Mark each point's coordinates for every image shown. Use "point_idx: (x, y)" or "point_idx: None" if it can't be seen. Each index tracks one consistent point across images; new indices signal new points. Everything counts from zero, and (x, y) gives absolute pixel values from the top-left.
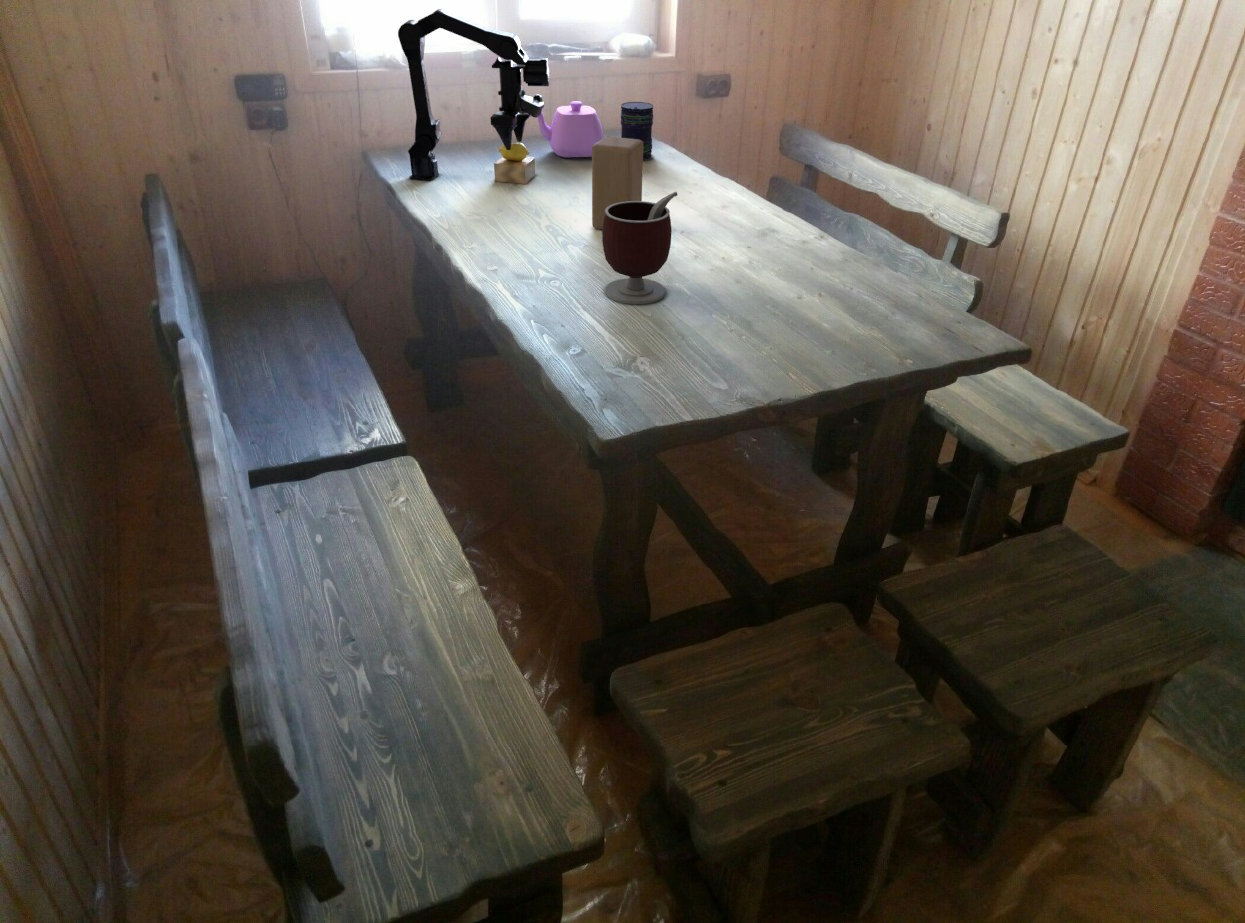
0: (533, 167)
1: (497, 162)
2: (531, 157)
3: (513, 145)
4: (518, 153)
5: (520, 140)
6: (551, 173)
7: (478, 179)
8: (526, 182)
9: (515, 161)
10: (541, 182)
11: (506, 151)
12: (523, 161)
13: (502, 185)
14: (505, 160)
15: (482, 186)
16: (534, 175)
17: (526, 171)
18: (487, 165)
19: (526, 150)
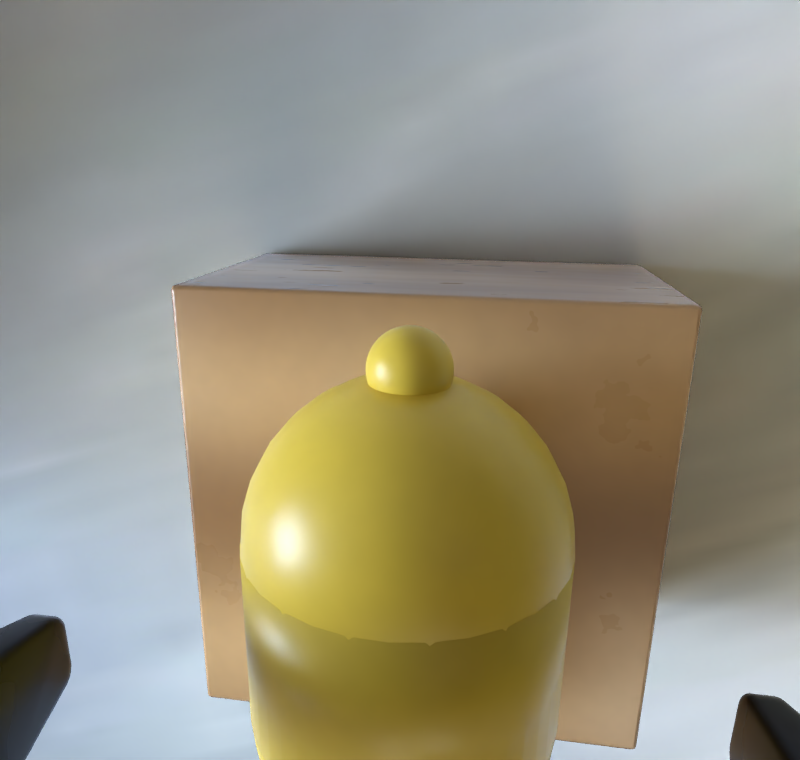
0: (289, 269)
1: (588, 716)
2: (195, 332)
3: (488, 699)
4: (570, 509)
5: (47, 640)
6: (131, 84)
7: (560, 744)
8: (603, 264)
9: None
10: (526, 88)
11: (555, 728)
12: None
13: (731, 498)
14: None
15: (796, 672)
16: (296, 254)
17: (604, 284)
18: (126, 749)
19: (406, 397)
